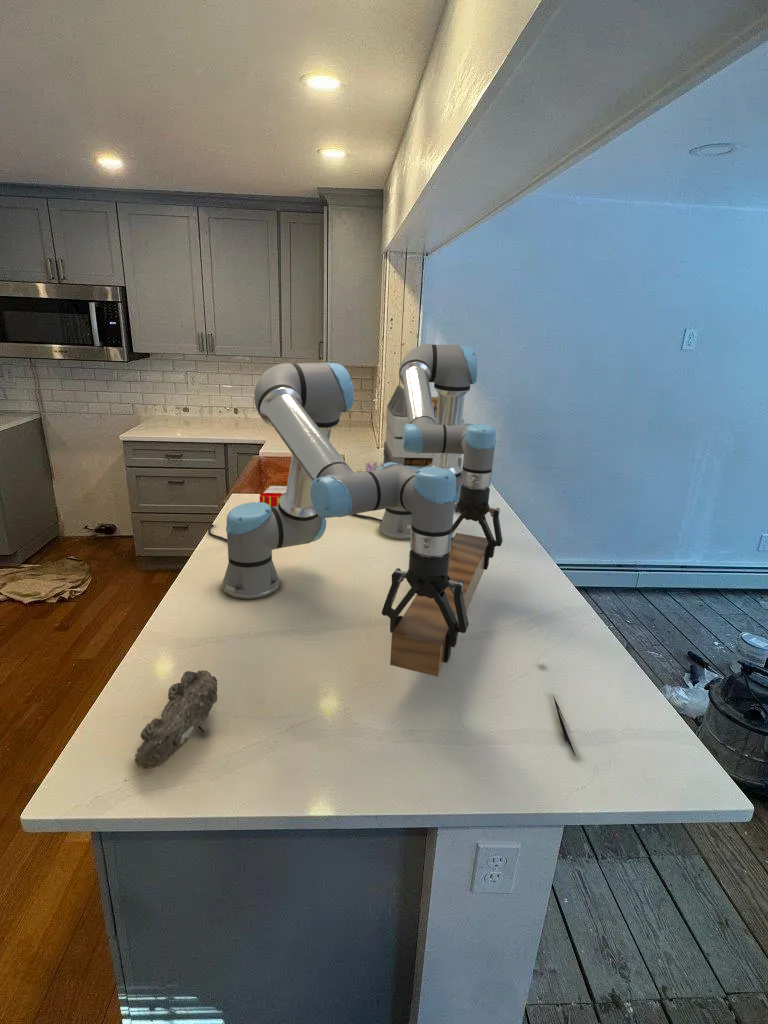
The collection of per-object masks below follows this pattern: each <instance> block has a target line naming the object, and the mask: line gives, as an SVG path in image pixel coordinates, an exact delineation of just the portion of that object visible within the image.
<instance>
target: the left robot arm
mask: <svg viewBox="0 0 768 1024" xmlns="http://www.w3.org/2000/svg"><path fill="white" fill-rule="evenodd" d="M253 400H254V406H255V409H256V411H257V413H258V415H259V416H260V418H261V419H262V421H263V422H264V423H265V424H266V425H268V426H270V427H273V428H274V430H275V431H276V432H277V434H278V436H279V437H280V439H281V440H282V441H283V443H284V444H285V446H286V448H287V449H288V450H289V451H290V453H291V458H290V465H289V470H288V477H287V483H286V486H287V489H286V492H285V493H283V494H282V495H281V496H280V499H279V504H278V506H275V507H270V506H269V505H268V504H267V503H264V502H260V501H258V502H256V501H251V502H246V503H242V504H239V505H236V506H235V507H233V508H232V509H231V510H229V512H228V513H227V515H226V526H225V531H226V538H225V537H223V536H220V535H217V534H213V533H212V532H211V529H212V528H213V527H214V524H213V523H211V524H210V525H209V526H208V528H207V533H208V535H209V536H211V537H213V538H216V539H219V540H222V541H225V542H226V543H227V557H228V563H227V567H226V570H225V572H224V576H223V579H222V589H223V592H224V593H225V594H226V595H227V596H229V597H232V598H234V599H239V600H255V599H262V598H265V597H269V596H270V595H272V594H274V593H276V592H277V591H278V590H279V588H280V577H279V574H278V571H277V568H276V566H275V564H274V561H273V551H275V550H278V549H282V548H283V549H284V548H287V547H288V548H289V547H294V546H301V545H307V544H310V543H314V542H317V541H318V540H320V539H321V538H322V537H323V536H324V533H325V532H326V528H327V519H330V518H344V517H347V516H353V515H352V514H362V513H369V512H375V511H381V510H385V509H387V508H393V507H401V508H403V509H405V510H407V511H409V512H411V513H412V524H411V540H409V544H410V545H409V548H410V550H409V555H408V569H407V571H405V570H402V569H401V568H399V567H397V568H396V569H395V570H394V571H393V572H392V574H391V585H390V587H389V590H388V593H387V595H386V599H385V601H384V603H383V607H382V609H381V615H382V616H384V617H386V616H387V617H388V618H389V619H390V620H389V632H390V634H392V633H393V631H394V630H395V628H396V627H397V625H398V624H399V622H400V620H401V619H402V617H403V616H404V615H400V614H401V613H402V612H403V610H404V609H405V608H406V606H407V605H408V604H409V602H410V601H411V600H412V599H413V597H414V596H416V595H417V596H426V597H428V598H432V599H433V598H434V600H435V602H436V604H438V606H439V608H440V610H441V612H442V615H443V617H444V619H445V621H446V623H447V625H448V628H449V629H448V631H447V633H446V642H445V652H444V664H448V663H449V660H450V657H451V653H452V648H456V646H457V643H458V638H459V633H461V634H465V633H466V632H467V630H468V628H469V619H468V613H467V611H466V607H465V602H464V596H463V587H464V582H463V581H462V580H460V581H458V582H456V581H452V580H450V578H449V576H448V569H449V558H450V554H449V551H450V548H451V537H453V536H452V535H453V533H452V525H453V524H454V515H455V510H454V505H455V498H456V476H455V474H454V473H453V472H452V471H450V470H448V469H445V468H440V467H428V466H422V467H419V468H420V469H418V470H417V471H415V470H413V469H411V468H409V467H407V465H403V464H398V463H394V462H388V463H385V464H382V465H381V466H379V467H377V468H376V470H374V471H367V470H366V471H359V472H355V471H354V470H353V469H352V468H351V467H350V466H349V465H348V463H347V462H346V461H345V459H344V458H343V457H342V455H341V454H340V453H339V452H338V450H337V449H336V448H335V447H334V445H333V444H332V442H331V441H330V437H331V432H332V428H335V427H336V426H338V424H339V422H340V419H341V415H342V414H341V413H346V412H349V411H350V410H352V407H353V406H354V402H355V401H354V400H355V391H354V385H353V382H352V377H351V375H350V373H349V372H348V370H347V369H346V367H345V366H344V365H342V364H340V363H337V362H335V363H334V362H326V361H324V362H299V363H298V362H297V363H295V362H293V363H290V362H285V363H279V364H276V365H273V366H271V367H270V368H268V369H267V370H265V372H263V374H262V375H261V376H260V377H259V379H258V381H257V383H256V385H255V388H254V394H253ZM405 579H406V581H407V583H408V585H409V587H410V589H408V591H407V593H405V595H404V596H403V598H402V599H401V600H400V602H399V603H398V605H397V606H396V607H395V608H393V604H394V602H395V599H396V597H397V593H398V591H399V589H400V586H401V583H403V581H404V580H405ZM447 587H450V588H451V592H452V593H453V594H454V602H455V607H456V613H457V618H458V621H457V619H456V617H455V615H454V613H453V610H452V608H451V606H450V604H449V602H448V599H447V597H446V593H445V589H446V588H447ZM415 594H416V595H415Z"/></svg>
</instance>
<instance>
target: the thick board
mask: <svg viewBox="0 0 768 1024" xmlns="http://www.w3.org/2000/svg"><path fill="white" fill-rule="evenodd" d="M452 537H453V539H452V541H451V548H450V551H449V554H450V558H449V569H448V576H449V578H450V580H452V581H456V582H458V581H460V580H462V581H463V582H464V587H463V596H464V602H465V607H466V612H467V611H468V608H469V607H470V604H471V602H472V600H473V597H474V595H475V593H476V590H477V588H478V586H479V584H480V581H481V579H482V576H483V574H484V572H485V569H484V565H485V556H486V547H487V545H488V541H487V539H486V537H485V536H477V535H472V534H465V533H459V532H456V533H455V534H454V536H452ZM445 593H446V597H447V599H448V602H449V604H450V606H451V608H452V610H453V613H454V615H455V617H456V619H457V621H458V618H457V613H456V607H455V602H454V594H453V593H452V592H451V588H450V587H447V588H446V589H445ZM402 616H403V617H402V619H401V620H400V622H399V624H398V625H397V627H396V628H395V630H394V631H393V633H391V643H390V658H389V659H390V661H389V664H390V666H393V667H395V668H396V667H397V668H400V669H405V670H409V671H412V672H417V673H420V674H425V675H429V676H433V677H437V678H438V677H439V676H440V674H441V671H442V669H443V666H444V664H445V662H444V652H445V642H446V633H447V631H448V629H449V628H448V625H447V623H446V621H445V619H444V617H443V615H442V612H441V610H440V608H439V606H438V604H436V602H435V600H434V598H433V599H432V598H428V597H426V596H417V594H416V595H415V597H414V598H413V600H412V601H411V603H410V605H409V606H408V608H407V609H406V611H405V612H404V614H403V615H402Z"/></svg>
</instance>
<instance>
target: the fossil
mask: <svg viewBox="0 0 768 1024" xmlns="http://www.w3.org/2000/svg"><path fill="white" fill-rule="evenodd" d="M167 698H168V701H167V703H166V705H165V706H164V708H163V709H162V712H161V714H160V718H157V717H156V718H153V719H152V720H151V721H150V722H149V723H147V724H146V725H145V727H144V728H143V729H142V731H141V733H140V738H141V740H142V743H141V744H140V746H139V747H138V748H137V749H136V753H135V755H134V756H135V757H134V762H135V764H136V766H137V767H141V768H142V769H143V770H144V769H145V770H146V769H151V768H156V767H157V768H161V767H162V766H163V765H165V763H166V762H167V761H168V760H169V759H171V758H172V757H173V756H174V755H175V754H177V752H178V751H179V750H180V749H181V748H182V747H184V746H185V744H187V743H188V741H189V739H190V737H191V736H192V735H193V734H195V732H196V731H197V730H199V731H200V732H201V733H202V734H205V733H206V730H205V729H204V728H203V726H201V723H202V722H205V721H206V720H207V718H208V717H209V716H210V712H211V711H212V709H213V707H214V705H215V703H217V702H218V679H217V677H216V676H215V675H212V674H211V672H209V670H206V669H205V670H203V669H202V670H198V671H197V672H195V671H191V670H185V672H183V674H182V677H181V678H180V682H177V683H173V684H172V685H171V686H170V687H169V688H168V693H167Z"/></svg>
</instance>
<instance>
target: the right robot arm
mask: <svg viewBox="0 0 768 1024" xmlns="http://www.w3.org/2000/svg"><path fill="white" fill-rule="evenodd" d="M398 370H399V371H398V376H399V377H398V378H399V381H400V384H401V386H403V389H404V391H405V399H406V408H407V416H408V424H406V425H404V427H403V435H402V445H403V449H404V450H405V451H406V452H416V453H433V461H432V463H431V464H430V465H428V466H427V467H440V468H445V469H448V470H450V471H452V472H453V473H454V474H455V476H456V498H455V505H454V511H455V508H456V507H457V508H458V509H459V510H458V509H457V510H458V511H459V513H460V514H459V516H458V517H457V519H456V520H454V522H453V525H452V534H453V533H454V532H455V531H456V529H457V528H458V527H459V525H460V524H461V523H462V522H463V521H464V520H466V521H473V522H478V524H479V526H480V527H481V529H482V532H483V534H484V537H485V538H486V539H487V541H488V545H487V547H486V556H485V565H484V569H485V570H486V571H487V570H488V568H489V565H490V559H493V557H494V555H495V548H497V547H501V546H502V544H503V542H504V541H503V534H502V528H501V522H500V512H501V508H499V507H496V508H494V507H490V504H489V502H490V501H489V500H490V492H491V488H490V486H491V483H492V475H493V465H494V457H495V448H496V444H497V431H496V429H495V428H494V427H493V426H492V425H491V426H490V425H488V424H480V423H479V424H473V423H470V422H464V424H462V419H463V414H464V404H465V396H466V395H467V393H468V392H470V390H471V385H475V384H476V383H477V381H478V380H477V379H478V359H477V354H476V351H475V350H474V348H473V347H471V346H468V345H460V344H432V343H426V344H421V345H418V346H416V347H414V348H412V349H411V350H410V351H409V352H407V353H406V355H405V356H404V357H403V359H402V360H401V362H400V365H399V369H398ZM430 383H433V388H434V390H435V391H436V393H437V397H438V402H437V414H436V420H435V415H434V409H433V403H432V398H431V397H432V393H431V387H430V386H431V385H430ZM458 454H461V455H463V460H462V467H461V468H460V467H459V466H458ZM406 466H407V465H406ZM407 467H409V468H411V469H413V470H415V471H417V470H418V469H420V468H421V467H420V466H407ZM488 513H489V514H490V517H492V525H493V532H494V535H493V533H492V530H491V528H490V525H489V523H488V520H487V517H486V516H487V514H488ZM351 516H353V517H358V518H363V519H367V520H372V521H376V522H379V525H378V533H379V534H380V535H381V536H382V537H385V538H387V539H389V540H395V541H410V540H411V524H412V513H411V512H409V511H407V510H405V509H403V508H401V507H393V508H387V509H384V513H383V515H382V519H381V518H377V517H374V516H369V515H364V514H360V513H358V514H352V515H351ZM494 536H495V537H494ZM453 537H454V536H452V537H451V541H452V539H453ZM485 570H484V571H485Z"/></svg>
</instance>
